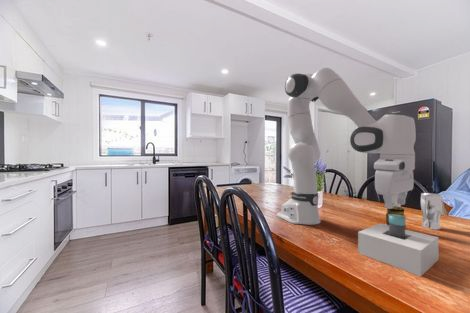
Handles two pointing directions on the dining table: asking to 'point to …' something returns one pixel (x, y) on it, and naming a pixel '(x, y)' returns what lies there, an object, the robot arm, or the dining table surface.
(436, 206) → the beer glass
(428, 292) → the dining table surface
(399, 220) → the dark gray rectangular block
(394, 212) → the condiment
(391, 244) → the socket block
